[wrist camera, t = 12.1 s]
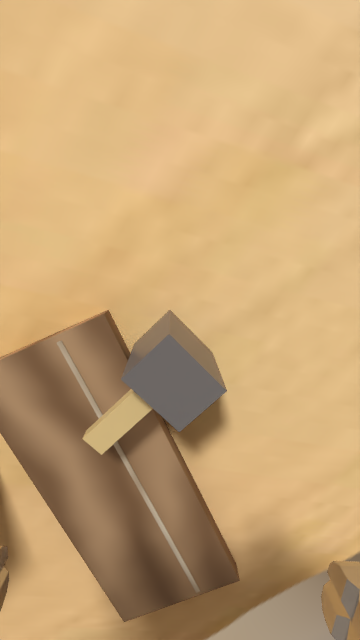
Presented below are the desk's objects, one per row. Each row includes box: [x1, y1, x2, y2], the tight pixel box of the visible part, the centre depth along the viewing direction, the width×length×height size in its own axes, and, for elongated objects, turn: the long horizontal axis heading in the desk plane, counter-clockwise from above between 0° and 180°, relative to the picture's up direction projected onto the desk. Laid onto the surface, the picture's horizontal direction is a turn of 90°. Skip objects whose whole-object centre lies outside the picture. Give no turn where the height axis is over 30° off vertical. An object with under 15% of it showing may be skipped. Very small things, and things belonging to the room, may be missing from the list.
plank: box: [0, 310, 239, 622], centre depth 27 cm, size 12×28×2 cm, turn 24°
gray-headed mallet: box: [83, 310, 227, 455], centre depth 22 cm, size 10×5×7 cm, turn 134°
